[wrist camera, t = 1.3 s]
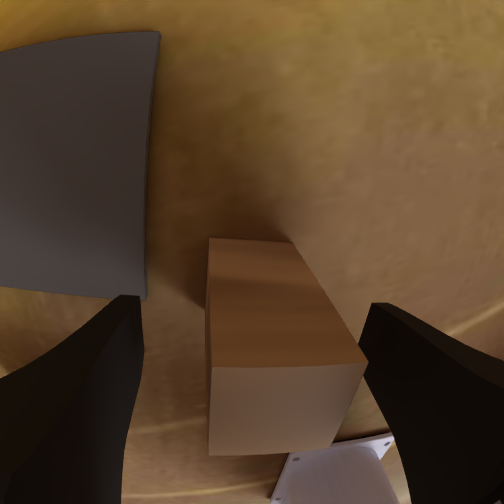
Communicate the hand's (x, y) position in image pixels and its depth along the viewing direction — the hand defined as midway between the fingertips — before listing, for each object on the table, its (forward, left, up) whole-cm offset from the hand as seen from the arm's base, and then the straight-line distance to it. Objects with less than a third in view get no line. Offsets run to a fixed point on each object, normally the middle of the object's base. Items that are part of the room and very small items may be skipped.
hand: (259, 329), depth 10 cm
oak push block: (0, 0, -4) cm, 4 cm away
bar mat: (+4, +8, -4) cm, 10 cm away
